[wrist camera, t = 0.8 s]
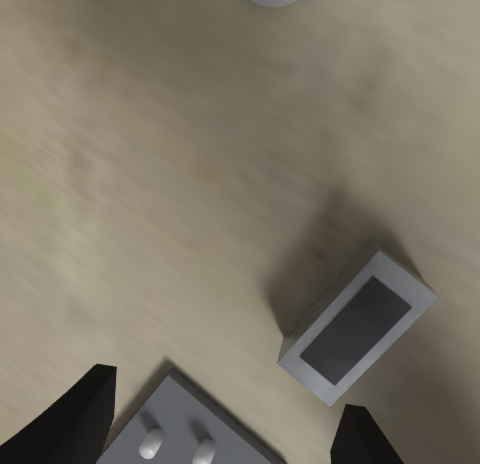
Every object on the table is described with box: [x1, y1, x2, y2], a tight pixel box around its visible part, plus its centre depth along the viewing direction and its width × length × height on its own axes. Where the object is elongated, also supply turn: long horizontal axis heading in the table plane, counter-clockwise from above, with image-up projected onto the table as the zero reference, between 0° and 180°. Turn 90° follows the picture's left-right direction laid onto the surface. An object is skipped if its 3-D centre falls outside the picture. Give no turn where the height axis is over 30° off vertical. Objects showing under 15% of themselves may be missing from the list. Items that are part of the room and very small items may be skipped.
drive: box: [277, 239, 439, 407], centre depth 25 cm, size 4×9×4 cm, turn 142°
